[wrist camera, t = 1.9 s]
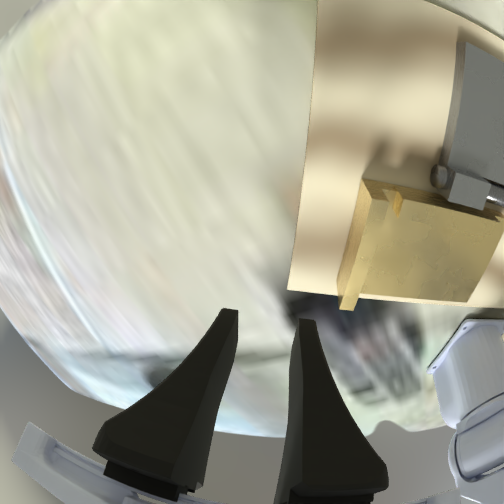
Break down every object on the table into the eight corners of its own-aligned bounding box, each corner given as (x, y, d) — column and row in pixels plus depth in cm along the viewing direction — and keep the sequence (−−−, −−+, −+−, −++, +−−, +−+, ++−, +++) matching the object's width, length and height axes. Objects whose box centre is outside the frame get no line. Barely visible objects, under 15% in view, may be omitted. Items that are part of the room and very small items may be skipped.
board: (516, 305, 20) (518, 308, 19) (287, 284, 22) (287, 289, 22) (586, 113, 7) (590, 115, 6) (318, -23, 10) (319, -26, 9)
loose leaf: (462, 293, 19) (473, 318, 17) (336, 280, 21) (339, 309, 18) (501, 210, 15) (521, 232, 12) (361, 176, 16) (372, 197, 13)
